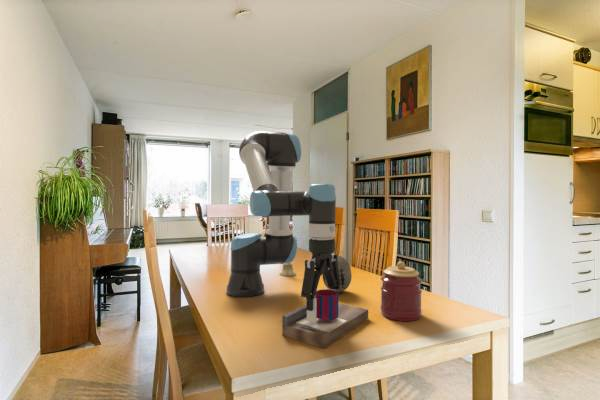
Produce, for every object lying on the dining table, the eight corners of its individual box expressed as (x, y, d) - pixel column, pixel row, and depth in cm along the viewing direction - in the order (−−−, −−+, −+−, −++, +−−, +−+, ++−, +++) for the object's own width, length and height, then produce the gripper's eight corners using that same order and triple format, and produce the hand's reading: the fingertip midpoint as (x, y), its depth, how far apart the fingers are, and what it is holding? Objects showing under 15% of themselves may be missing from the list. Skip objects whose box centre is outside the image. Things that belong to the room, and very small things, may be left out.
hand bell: (276, 273, 170) (277, 241, 170) (292, 271, 173) (292, 240, 173) (283, 277, 162) (283, 243, 162) (298, 275, 166) (298, 242, 166)
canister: (398, 324, 103) (398, 267, 103) (372, 311, 115) (372, 259, 115) (430, 318, 108) (431, 263, 108) (403, 306, 120) (403, 256, 120)
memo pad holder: (282, 335, 95) (282, 315, 95) (330, 309, 116) (330, 293, 116) (324, 348, 87) (324, 327, 87) (368, 318, 108) (368, 301, 108)
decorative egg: (356, 294, 133) (356, 257, 133) (328, 297, 130) (328, 258, 130) (344, 287, 145) (344, 252, 144) (318, 289, 141) (318, 253, 141)
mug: (342, 317, 96) (343, 294, 96) (312, 323, 91) (312, 298, 91) (330, 310, 102) (330, 288, 102) (300, 316, 97) (300, 292, 97)
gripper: (310, 243, 85) (310, 331, 85) (352, 235, 103) (351, 308, 103) (287, 241, 90) (287, 325, 90) (331, 233, 108) (330, 303, 108)
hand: (321, 316), depth 97 cm, fingers closed on mug, 10 cm apart
